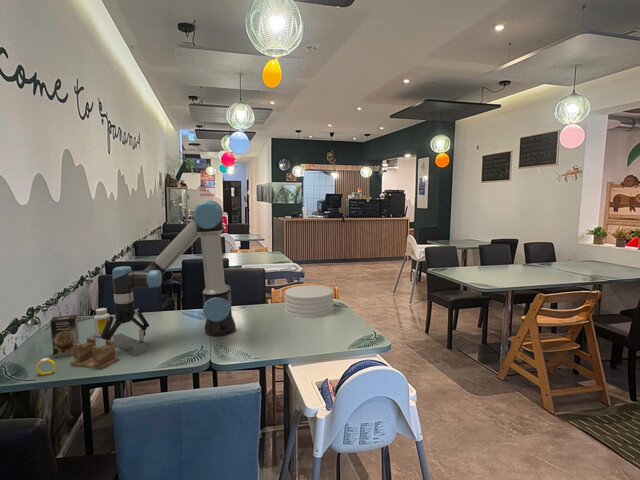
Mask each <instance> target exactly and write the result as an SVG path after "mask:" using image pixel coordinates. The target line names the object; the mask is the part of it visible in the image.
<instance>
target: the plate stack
mask: <svg viewBox="0 0 640 480" xmlns="http://www.w3.org/2000/svg"><path fill="white" fill-rule="evenodd" d="M284 308H285V309H284V312H285V313H286V315H289V316H291V317H295V318H296V317H297V318H303V319H306V318H307V319H309V318H311V319H312V318H319V317H320V318H321V317H325V316H328V315H330V314H332V313H333V312H334V290H333V288H331V287H328V286H325V285H324V286H323V285H314V284H311V285H309V284H308V285H297V286H292V287H289V288H287V289H286V290H285V291H284Z"/></svg>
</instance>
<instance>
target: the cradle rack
mask: <svg viewBox="0 0 640 480" xmlns="http://www.w3.org/2000/svg"><path fill="white" fill-rule="evenodd" d="M73 354H74V355H73V360H72V361H70V365H71V366H77V367H82V366H83V368H89V369H95V368H98V369H97V370H103V368H104V369H105V367H106V368H107V367H109V366H111V365H113V364H115V363H117V362H119V361H120V360H121V358H120V357H116V356H117V355H116V346H115V343H114V340H107V341H106V340H105V344H104V345H102V346H101V345H97V343H96V338H95V337H91V336H90V337H87V338H86V342H84V343H80V342H79V343H75V344H73ZM118 360H119V361H118ZM112 363H113V364H112ZM110 364H111V365H110Z"/></svg>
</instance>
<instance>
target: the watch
mask: <svg viewBox="0 0 640 480" xmlns="http://www.w3.org/2000/svg"><path fill="white" fill-rule="evenodd" d="M46 362H49V363H51V364H52V366H53V368H52V369H51V371H46V372H43V371H41V370H40V367H39V365H40V364H41V363H46ZM56 367H57V366H56V363H55V361H54V360H52V359H51V358H50V357H45V358H44V357H43V358H41V359H40V361H39V362H37V364H36V367H35V368H36V372H37V373H38V374H39V375H42V376H43V375H51V374H52V373H53V372H54V371H55V369H56Z"/></svg>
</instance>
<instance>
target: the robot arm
mask: <svg viewBox="0 0 640 480" xmlns="http://www.w3.org/2000/svg"><path fill="white" fill-rule="evenodd" d="M223 214H224V212H223V208H222V207H221V205H220V204H219V203H218V202H217V201H214V200H203V201H201V202H199V203H198V204H197V205H196V206H195V207H194V210H193V215H192V217H191V218H190V220H191V221H190V222H189V223H188V224H186V226H185V227H184V228H183V229H182V230H181V231H180V232H179V233H178V234H177V236H175V238H174V239H173V240H172V241H171V242H170V243H169V244H168V245H167V246H166V247H165V248H164V250H162V252H161V253H160V254H159V255H157V257H156V258H155V259H154V260H153V261H152V262H151V263H150V264H149V265H148V266H147V267H146V268H145V269H143V270H132V267H131V266H130V265H129V266H127V265H124V266H123V265H122V266H117V267H114V268H113V269H112V271H111V272H112V288H113V303H114V315H110V314H109V316H108V317H107V323H106V325H105V328H104V330H103V333H102V335H101V337H100V338H101V339H102V340H105V342H106V341H107V340H113V335H115V333H116V331H117V330H118V328H119V327H120V326H122V324H126V323H131V322H132V323H134V324H135V325H136V326H137V327H139V329H138V334H139V335H138V336H139V337H138V339H139V340H141V341H144V342H145V337H146V334H147V333H146V330H147V328H149V327H150V324H149V322H148V321H147V319H146V318H145V316H144V315H143V312H142V309H140V308H136V309H135V304H134V303H135V302H134V290H133V289H144V288H145V289H147V288H159V287H160V286H161V285H162V281H163V278H162V277H163V275H164V274H165V273H166V272H167V271H168V270H169V269H170V268H171V267H172V266H173V264H175V263H176V261H177V260H179V258H180V257H182V255H183V254H184V253H185V252H186V251H187V250H188V249H189V248H190V247H191V246H192V245H193V244H194V242H196V241H197V239H199V237H200V244H201V256H202V263H203V273H204V285H205V288H204V289H203V291H202V298H203V301H202V302H203V305H202V312H203V314H204V317H205V318H206V322H205V325H204V334H205V335H207V336H213V337H218V336H221V337H222V336H227V335H230V334H232V333H234V332H235V331H236V329H237V327H236V322H235V319H234V317H233V314H232V290H231V286H230V285H229V284H226V283H225V282H226V281H225V271H224V260H223V252H222V251H223V250H222V249H223V248H222V239H221V234H222V233H223V231H224V223H223V222H224V221H223ZM135 315H137V317H138V318H139V320H140V321H138V319H136V318H135V317H134V316H135ZM110 328H111V329H110ZM109 330H110V331H109Z"/></svg>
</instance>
